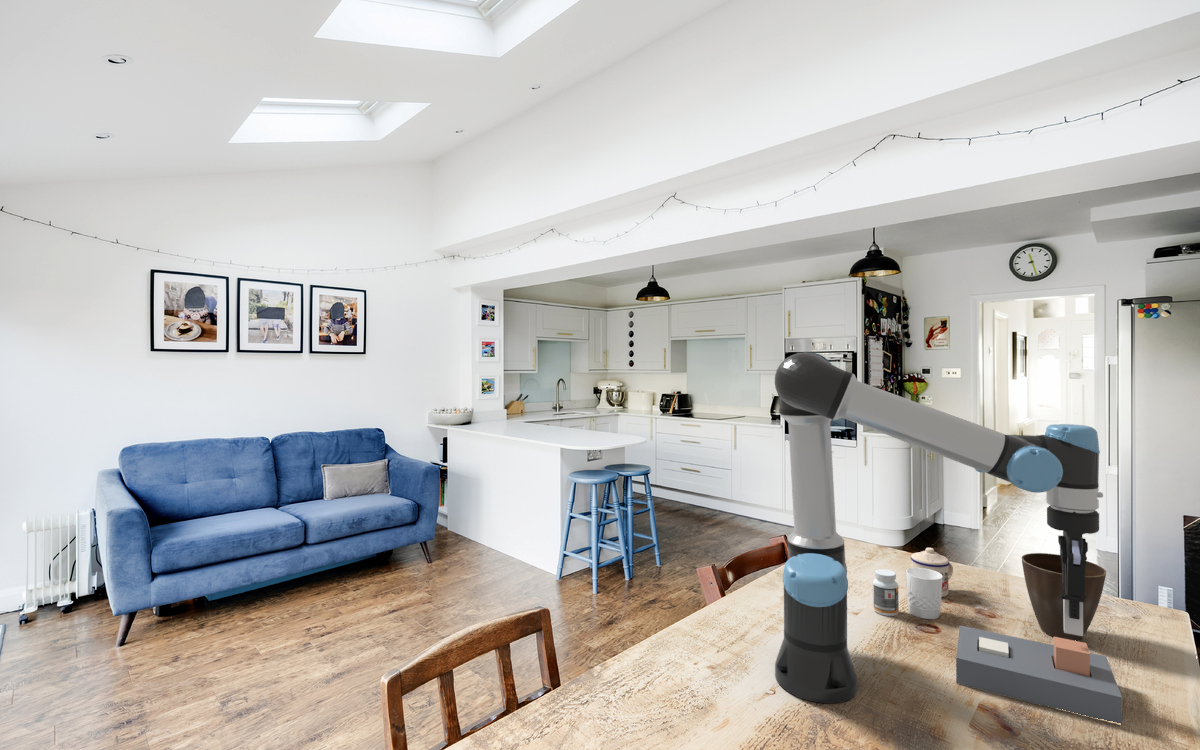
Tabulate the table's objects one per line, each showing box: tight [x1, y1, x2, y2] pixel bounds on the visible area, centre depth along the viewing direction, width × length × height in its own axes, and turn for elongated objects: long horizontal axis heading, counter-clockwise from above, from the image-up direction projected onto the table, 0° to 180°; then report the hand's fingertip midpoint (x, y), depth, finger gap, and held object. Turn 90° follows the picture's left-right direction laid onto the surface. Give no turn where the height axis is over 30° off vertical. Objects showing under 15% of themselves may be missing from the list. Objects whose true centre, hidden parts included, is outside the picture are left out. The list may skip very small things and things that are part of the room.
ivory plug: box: [979, 637, 1009, 658], centre depth 114 cm, size 5×5×6 cm
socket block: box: [955, 624, 1123, 724], centre depth 111 cm, size 16×24×5 cm, turn 56°
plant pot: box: [1021, 552, 1107, 641], centre depth 130 cm, size 15×15×16 cm
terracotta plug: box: [1053, 637, 1091, 677], centre depth 107 cm, size 5×5×6 cm
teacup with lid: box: [910, 547, 954, 598], centre depth 154 cm, size 12×9×12 cm
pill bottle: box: [872, 568, 900, 617], centre depth 142 cm, size 6×6×10 cm
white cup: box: [905, 567, 943, 620], centre depth 141 cm, size 8×8×10 cm
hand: (1073, 632), depth 107 cm, fingers closed
